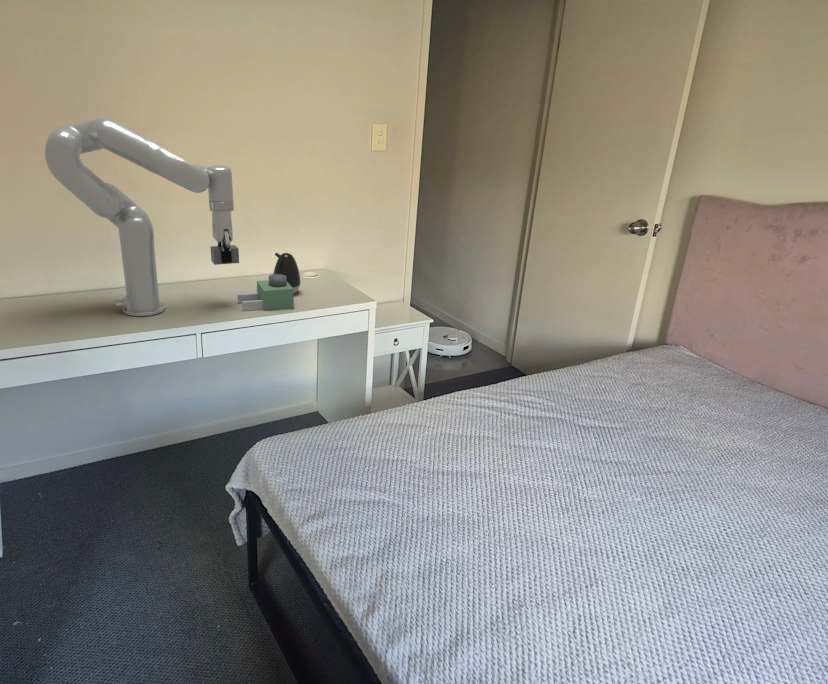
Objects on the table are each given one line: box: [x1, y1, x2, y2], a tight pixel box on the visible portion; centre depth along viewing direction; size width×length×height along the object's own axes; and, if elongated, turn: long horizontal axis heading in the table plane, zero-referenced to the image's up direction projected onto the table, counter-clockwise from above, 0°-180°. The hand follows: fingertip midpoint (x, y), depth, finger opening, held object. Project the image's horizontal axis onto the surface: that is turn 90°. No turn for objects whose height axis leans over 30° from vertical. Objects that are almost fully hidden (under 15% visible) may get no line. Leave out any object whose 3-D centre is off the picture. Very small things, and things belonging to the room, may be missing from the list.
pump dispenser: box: [273, 252, 301, 294], centre depth 219 cm, size 10×10×15 cm
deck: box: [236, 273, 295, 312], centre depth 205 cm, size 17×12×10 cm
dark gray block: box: [210, 244, 240, 266], centre depth 199 cm, size 8×5×5 cm, turn 120°
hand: (225, 259), depth 199 cm, fingers closed on dark gray block, 5 cm apart
